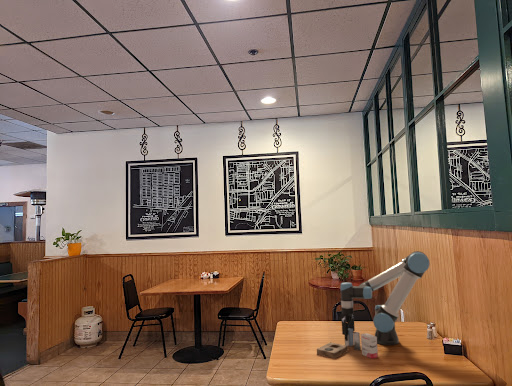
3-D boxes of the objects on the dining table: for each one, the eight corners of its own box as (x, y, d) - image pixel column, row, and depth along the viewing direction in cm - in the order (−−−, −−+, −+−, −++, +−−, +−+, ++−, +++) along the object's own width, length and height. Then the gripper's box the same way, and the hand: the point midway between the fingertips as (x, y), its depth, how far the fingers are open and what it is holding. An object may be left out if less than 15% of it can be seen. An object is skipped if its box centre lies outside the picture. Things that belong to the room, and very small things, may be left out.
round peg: (361, 349, 227) (360, 332, 228) (358, 350, 224) (357, 333, 225) (355, 348, 229) (355, 331, 230) (353, 349, 226) (352, 332, 227)
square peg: (353, 344, 236) (352, 328, 237) (350, 346, 233) (349, 330, 234) (348, 343, 238) (347, 327, 239) (344, 345, 235) (344, 329, 236)
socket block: (348, 351, 224) (347, 345, 224) (334, 358, 212) (334, 353, 213) (330, 347, 232) (330, 342, 232) (316, 354, 220) (316, 348, 221)
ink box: (378, 357, 212) (377, 336, 213) (371, 359, 210) (370, 337, 211) (367, 353, 220) (366, 332, 221) (361, 354, 218) (360, 334, 219)
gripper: (348, 304, 247) (350, 339, 245) (335, 308, 234) (337, 346, 232) (359, 305, 242) (360, 342, 240) (345, 310, 229) (347, 349, 227)
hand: (349, 344), depth 236 cm, fingers open, 5 cm apart
